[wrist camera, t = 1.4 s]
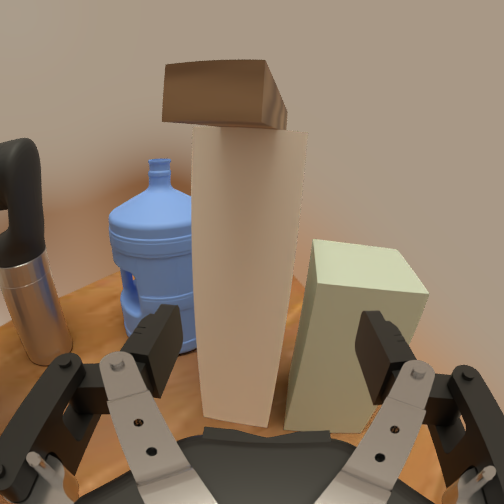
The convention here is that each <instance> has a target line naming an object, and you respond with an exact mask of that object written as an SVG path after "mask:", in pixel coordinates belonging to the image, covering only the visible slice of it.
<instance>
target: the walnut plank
mask: <svg viewBox="0 0 504 504" xmlns="http://www.w3.org/2000/svg"><path fill="white" fill-rule="evenodd" d="M162 122H173V123H187V124H198V125H208V126H217V127H243V128H262V129H276V130H286V125H287V110H286V107H285V105H284V102H283V100H282V97H281V95H280V93H279V90H278V88H277V86H276V83H275V81H274V79H273V76H272V74H271V72H270V70H269V67H268V65H267V63H266V61H265V60H212V61H196V62H185V63H175V64H167V65H166V67H165V78H164V93H163V110H162Z"/></svg>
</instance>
